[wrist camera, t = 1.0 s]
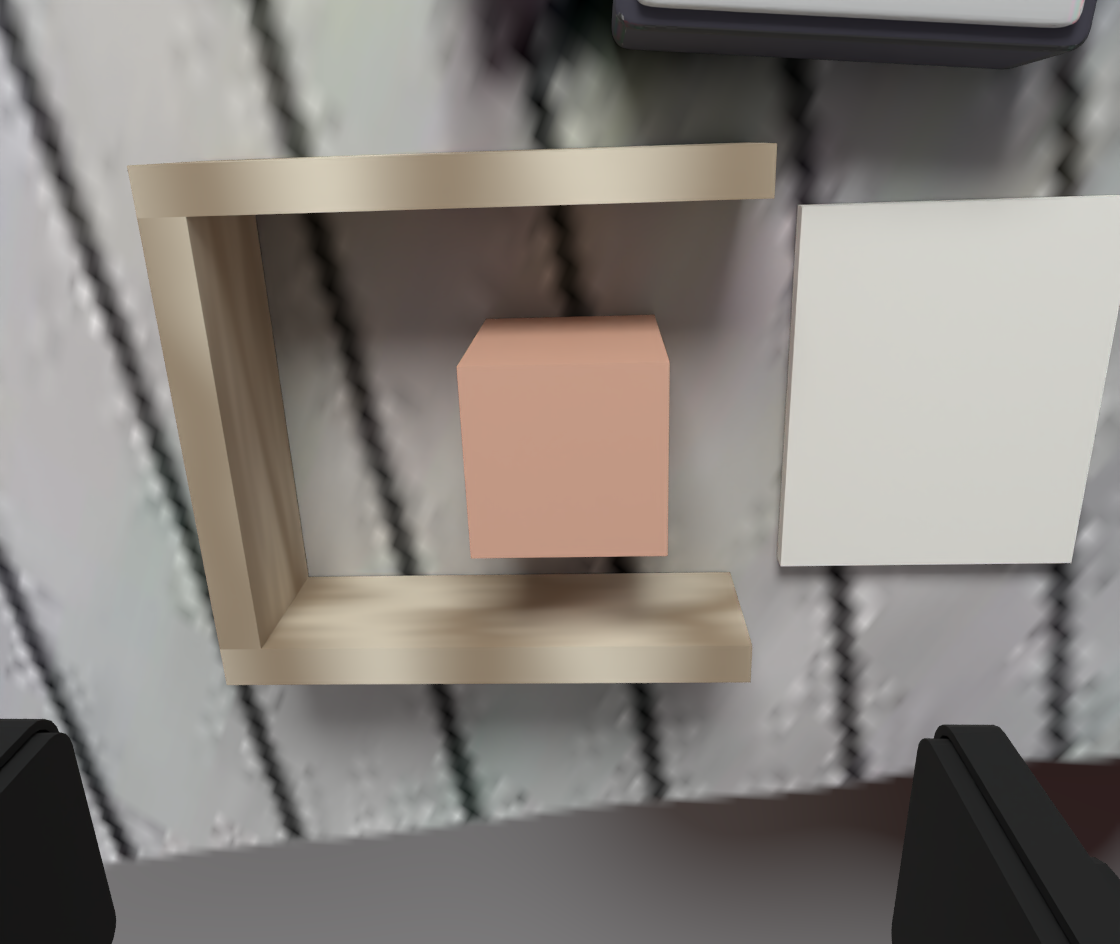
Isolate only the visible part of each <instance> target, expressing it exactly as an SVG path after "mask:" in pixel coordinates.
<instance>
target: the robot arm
mask: <svg viewBox="0 0 1120 944" xmlns="http://www.w3.org/2000/svg"><path fill="white" fill-rule="evenodd" d="M115 928H116V916H115V910H114V906H113V902H112V898H111V894H110V891H109V886H108V882H107V879H106V874H105V871H104V867H103V863H102V859H101V855H100V851H99V847H98V843H97V839H96V835H95V831H94V827H93V824H92V820H91V816H90V812H89V808H88V804H87V800H86V796H85V792H84V788H83V784H82V780H81V776H80V773H79V769H78V765H77V761H76V757H75V753H74V749H73V745H72V742H71V740H70V738H69V737H68V736H67V735H66V734H64V733H59V731H58V729H57V726H56V725H55V724H54V723H53V722H52V721H49V720H46V719H0V944H112V941H113V938H114V933H115ZM892 944H1120V879H1119V878H1118V877H1117V875H1115V873H1114V872H1113V871H1112V870H1111V869H1110V868H1109V867H1108V865H1107V864H1106V863H1103V862H1102V861H1100V860H1099V859H1097V858H1095V857H1090V856H1089V855H1088V853H1087V852H1086V850H1085V849H1084V848H1083V846H1082V844H1081V843H1080V842H1079V840H1078V839H1077V837H1076V836H1075V835H1074V833H1073V831H1072V830H1071V829H1070V827H1069V826H1068V824H1067V823H1066V821H1065V820H1064V818H1063V817H1062V815H1061V814H1060V813H1059V811H1058V810H1057V808H1056V807H1055V805H1054V804H1053V802H1052V801H1051V799H1050V798H1049V797H1048V795H1047V794H1046V792H1045V791H1044V789H1043V788H1042V786H1041V785H1040V784H1039V782H1038V781H1037V779H1036V778H1035V776H1034V775H1033V773H1032V772H1031V770H1030V769H1029V768H1028V766H1027V765H1026V763H1025V762H1024V760H1023V759H1022V757H1021V756H1020V755H1019V753H1018V752H1017V750H1016V749H1015V747H1014V746H1013V744H1012V743H1011V741H1010V740H1009V739H1008V737H1007V736H1006V734H1005V733H1004V732H1003V731H1002V730H1001V729H1000V727H998V726H995V725H941V726H939V727H938V729H937V730H936V732H935V736H934V739H930V738H924V739H922V740H921V741H920V743H919V746H918V750H917V757H916V763H915V770H914V777H913V784H912V791H911V798H910V804H909V811H908V819H907V825H906V832H905V839H904V845H903V853H902V859H901V866H900V873H899V880H898V886H897V894H896V901H895V907H894V914H893V921H892Z"/></svg>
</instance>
